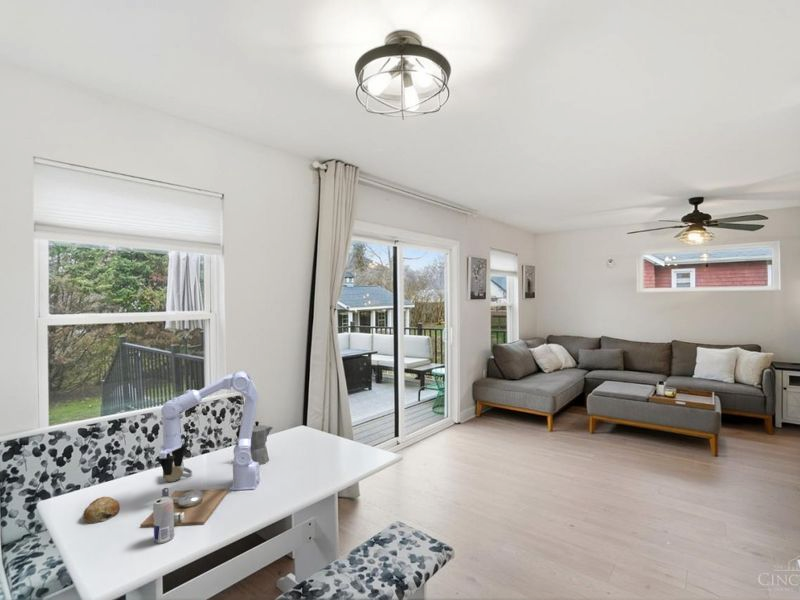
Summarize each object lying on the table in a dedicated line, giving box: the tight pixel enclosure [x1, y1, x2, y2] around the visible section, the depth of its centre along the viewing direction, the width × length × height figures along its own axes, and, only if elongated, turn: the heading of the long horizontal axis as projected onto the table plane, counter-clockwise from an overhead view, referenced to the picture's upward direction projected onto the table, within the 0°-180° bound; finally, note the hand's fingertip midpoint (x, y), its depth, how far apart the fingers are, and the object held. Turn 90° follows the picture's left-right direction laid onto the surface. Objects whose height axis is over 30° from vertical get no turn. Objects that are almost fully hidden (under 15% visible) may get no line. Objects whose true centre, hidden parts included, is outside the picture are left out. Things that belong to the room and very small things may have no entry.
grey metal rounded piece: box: [161, 487, 203, 508], centre depth 148 cm, size 14×8×5 cm, turn 93°
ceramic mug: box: [162, 460, 193, 483], centre depth 171 cm, size 11×8×8 cm
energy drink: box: [152, 495, 175, 544], centre depth 128 cm, size 5×5×12 cm
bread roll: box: [82, 496, 121, 524], centre depth 142 cm, size 10×10×8 cm
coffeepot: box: [235, 420, 273, 466], centre depth 185 cm, size 15×9×18 cm, turn 103°
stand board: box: [140, 487, 230, 529], centre depth 146 cm, size 20×23×4 cm
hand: (173, 470), depth 153 cm, fingers open, 7 cm apart
